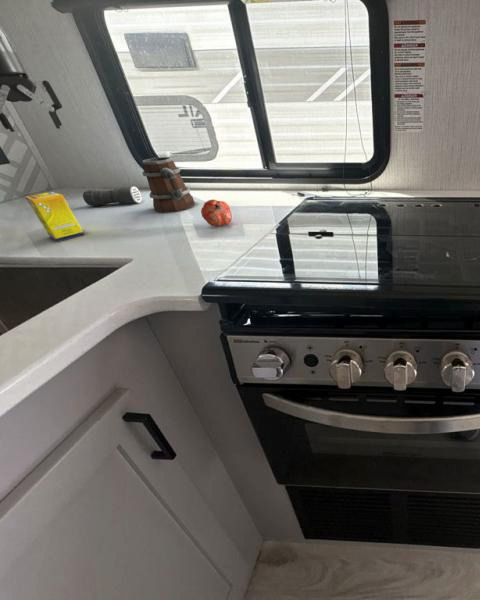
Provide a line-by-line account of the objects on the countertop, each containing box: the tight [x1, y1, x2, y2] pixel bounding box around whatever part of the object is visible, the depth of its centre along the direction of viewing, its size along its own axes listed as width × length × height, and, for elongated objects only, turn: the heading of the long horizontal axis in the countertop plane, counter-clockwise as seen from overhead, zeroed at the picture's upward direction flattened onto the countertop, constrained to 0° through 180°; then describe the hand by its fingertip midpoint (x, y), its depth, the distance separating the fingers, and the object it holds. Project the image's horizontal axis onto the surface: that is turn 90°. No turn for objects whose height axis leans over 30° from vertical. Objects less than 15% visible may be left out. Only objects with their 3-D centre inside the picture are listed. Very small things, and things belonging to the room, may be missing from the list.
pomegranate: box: [200, 199, 233, 227], centre depth 92 cm, size 7×7×10 cm
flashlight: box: [82, 186, 143, 207], centre depth 113 cm, size 15×5×5 cm, turn 102°
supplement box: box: [24, 191, 85, 242], centre depth 86 cm, size 6×6×11 cm
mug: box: [141, 156, 196, 213], centre depth 105 cm, size 16×12×15 cm
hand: (36, 129), depth 83 cm, fingers open, 8 cm apart
